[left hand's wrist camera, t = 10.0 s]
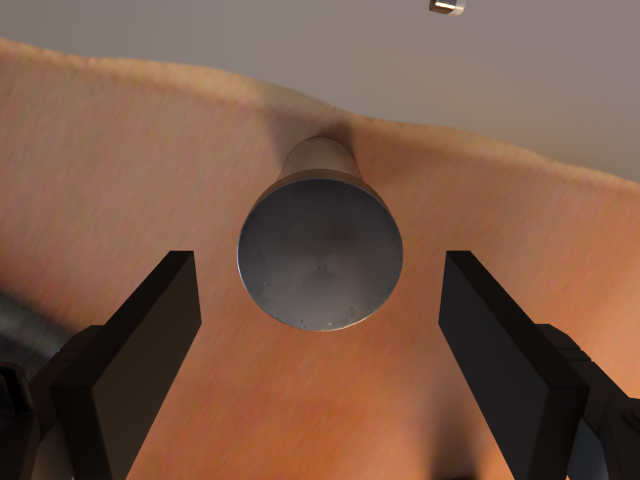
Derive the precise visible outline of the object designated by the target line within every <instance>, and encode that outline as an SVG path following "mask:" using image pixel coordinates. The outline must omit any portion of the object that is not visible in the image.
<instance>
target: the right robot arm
mask: <svg viewBox="0 0 640 480" xmlns="http://www.w3.org/2000/svg"><path fill="white" fill-rule="evenodd" d="M466 3H467V0H430V4H429V11H433V12H438V13H442V14H447V15H451V16H457V15H459V14H461V13H462V12H463V10H464V8H465V6H466Z"/></svg>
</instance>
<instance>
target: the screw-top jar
mask: <svg viewBox="0 0 640 480" xmlns="http://www.w3.org/2000/svg"><path fill="white" fill-rule="evenodd" d="M309 169H331V170H336V171H341V172H344V173H347V174H350V175H352V176H354V177H356V178H358V179H360V180H362V181H363V179H362V176H361V174H360V172H359V170H358V167H357V165H356V163H355V161H354V158H353V156H352V155H351V153H350V152H349V151H348V149H347V148H346V147H345V146H343V145H342V144H341V143H339V142H337V141H335V140H333V139H330V138H325V137H316V138H310V139H307V140H305V141H303V142H301V143H299V144H298V145H297V146H295V147H294V148H293V149H292V151H291V152H290V153H289V155H288V156H287V158H286V161H285V163H284V165H283V167H282V170H281V172H280V174H279V177H278V179H277V181H278V180H280V179H282V178H284V177H286V176H288V175H290V174H293V173H296V172H299V171H304V170H309ZM277 181H276V182H277ZM363 182H364V181H363Z"/></svg>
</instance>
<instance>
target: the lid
mask: <svg viewBox="0 0 640 480" xmlns="http://www.w3.org/2000/svg"><path fill="white" fill-rule="evenodd" d="M402 262H403V246H402V240H401V236H400V232H399V229H398V227H397V225H396V223H395V220H394V218H393V217H392V215H391V213H390V211H389V209H388V207H387V206H386V204H385V203H384V201H383V200H382V198H381V197H380V196H379V195H378V194H377V192H376V191H375V190H373V189H372V188H371V187H370V186H369V185H368V184H366V183H365V182H363V181H362V180H360V179H358V178H356V177H354V176H352V175H350V174H347V173H344V172H341V171H336V170H331V169H309V170H304V171H299V172H296V173H293V174H290V175H288V176H286V177H284V178H282V179H280V180H278V181H277V182H275V183H274V184H272V185H271V186H270V187H269V188H268V189H267V190H265V191H264V192H263V193H262V195H261V196H260V197H259V198H258V199H257V201H256V203H255V204H254V206H253V207H252V209H251V211H250V213H249V215H248V216H247V218H246V220H245V222H244V225H243V227H242V229H241V232H240V236H239V239H238V246H237V263H238V269H239V273H240V276H241V279H242V282H243V284H244V286H245V288H246V290H247V291H248V293H249V295H250V296H251V298H252V299H253V300H254V301H255V302H256V304H257V305H258V306H259V307H260V308H261V309H262V310H264V311H265V312H266V313H267V314H269V315H270V316H271V317H273V318H275V319H276V320H278V321H280V322H282V323H284V324H287V325H289V326H292V327H296V328H299V329H304V330H310V331H329V330H336V329H341V328H345V327H348V326H351V325H353V324H356V323H358V322H360V321H362V320H364V319H365V318H367V317H369V316H370V315H371V314H373V313H374V312H375V311H377V310H378V309H379V308H380V307H381V306H382V305H383V304H384V303H385V301H386V300H387V299H388V297H389V296H390V295H391V293H392V291H393V290H394V288H395V286H396V284H397V282H398V279H399V276H400V273H401V269H402Z"/></svg>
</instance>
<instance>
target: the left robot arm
mask: <svg viewBox="0 0 640 480" xmlns="http://www.w3.org/2000/svg"><path fill="white" fill-rule="evenodd" d="M201 324H202V321H201V313H200V304H199V295H198V286H197V277H196V268H195V260H194V251H170V252H169V253H168V254H167V255H166V256H165V257H164V258H163V259H162V261H161V262H160V263H159V264H158V265H157V266H156V267H155V268H154V270H153V271H152V272H151V273H150V274H149V275H148V276H147V277H146V279H145V280H144V281H143V282H142V283H141V284H140V285H139V286H138V288H137V289H136V290H135V291H134V292H133V293H132V294H131V295H130V297H129V298H128V299H127V300H126V301H125V302H124V303H123V305H122V306H121V307H120V308H119V309H118V310H117V311H116V312H115V314H114V315H113V316H112V317H111V318H110V319H109V320H108V321H107V323H106V324H105V325H91V326H89V327H88V328H86V329H84V330H83V331H81V332H79V333H77V334H76V335H74V336H73V337H72V338H71V339H70V340H69V341H68V342H67V343H66V344H65V345H64V346H63V347H62V348H61V349H60V352H57V353H56V354H55V355H54V356H53V357H52V358H51V359H50V360H49V363H46V364H45V365H44V366H43V367H42V368H41V369H40V370H39V371H38V372H37V374H36V375H35V376H34V377H33V378H32V379H31V380H30V381H29V382H28V381H27V377H26V374H25V371H24V368H23V367H21V366H20V365H18V364H17V363H9V362H1V363H0V480H71V479H72V478H73V476H74V480H125V479H126V477H127V475H128V473H129V471H130V469H131V467H132V465H133V463H134V461H135V459H136V457H137V455H138V452H139V450H140V448H141V446H142V444H143V442H144V440H145V438H146V436H147V434H148V432H149V430H150V428H151V426H152V424H153V422H154V420H155V418H156V416H157V414H158V412H159V410H160V408H161V406H162V403H163V401H164V399H165V397H166V395H167V393H168V391H169V389H170V387H171V385H172V383H173V381H174V379H175V377H176V375H177V373H178V371H179V369H180V367H181V365H182V363H183V361H184V359H185V357H186V355H187V352H188V350H189V348H190V346H191V344H192V342H193V340H194V338H195V336H196V334H197V332H198V330H199V328H200V326H201ZM438 324H439V326H440V328H441V330H442V332H443V334H444V336H445V338H446V340H447V342H448V344H449V346H450V348H451V350H452V352H453V355H454V357H455V359H456V361H457V363H458V365H459V367H460V369H461V371H462V373H463V375H464V377H465V379H466V381H467V383H468V385H469V387H470V389H471V391H472V393H473V395H474V397H475V399H476V401H477V403H478V406H479V408H480V410H481V412H482V414H483V416H484V418H485V420H486V422H487V424H488V426H489V428H490V430H491V432H492V434H493V436H494V438H495V440H496V442H497V444H498V446H499V448H500V450H501V452H502V455H503V457H504V459H505V461H506V463H507V465H508V467H509V469H510V471H511V473H512V475H513V477H514V479H515V480H566V476H567V475H568V477H569V479H570V480H640V399H636V398H629V397H628V396H627V395H626V394H625V393H624V392H623V391H622V390H621V389H620V388H619V387H618V386H617V385H616V384H615V383H614V382H613V381H612V380H611V379H610V378H609V377H608V376H607V375H606V374H605V373H604V371H603V370H602V369H601V368H600V367H599V366H598V365H597V364H596V363H595V362H592V361H591V358H590V357H589V356H588V355H587V354H586V353H585V352H584V351H581V350H580V347H579V346H578V345H577V344H576V343H575V342H574V341H573V340H572V339H571V338H570V337H569V336H568V335H567V334H565V333H564V332H562V331H560V330H558V329H557V328H555V327H553V326H552V325H550V324H534V323H533V321H532V320H531V319H530V318H529V317H528V316H527V315H526V314H525V312H524V311H523V310H522V309H521V308H520V307H519V306H518V305H517V303H516V302H515V301H514V300H513V299H512V298H511V297H510V295H509V294H508V293H507V292H506V291H505V290H504V289H503V288H502V286H501V285H500V284H499V283H498V282H497V281H496V280H495V279H494V277H493V276H492V275H491V274H490V273H489V272H488V271H487V270H486V268H485V267H484V266H483V265H482V264H481V263H480V262H479V261H478V259H477V258H476V257H475V256H474V255H473V254H472V253H471V252H470V251H446V259H445V268H444V277H443V286H442V295H441V304H440V313H439V321H438Z"/></svg>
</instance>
